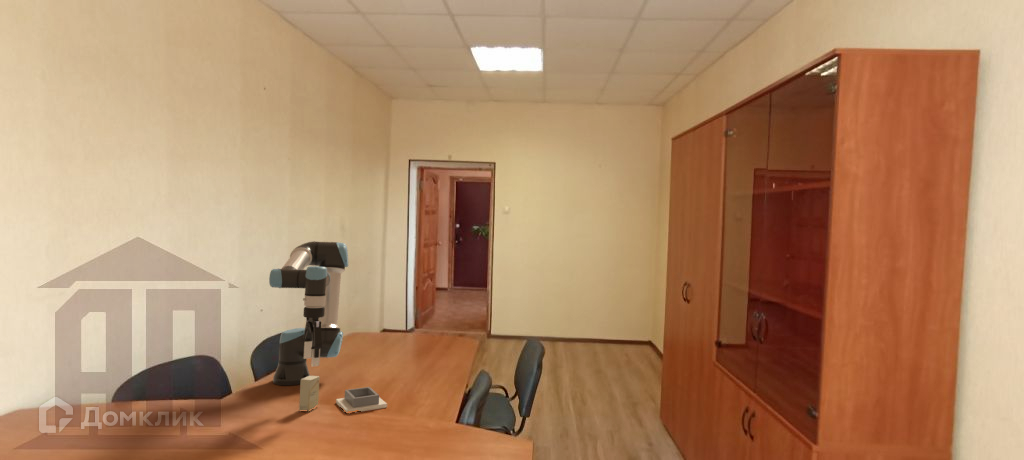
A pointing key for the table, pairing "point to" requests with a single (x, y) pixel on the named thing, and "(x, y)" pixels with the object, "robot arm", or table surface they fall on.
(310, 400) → the skincare box
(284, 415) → the table surface
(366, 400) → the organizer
